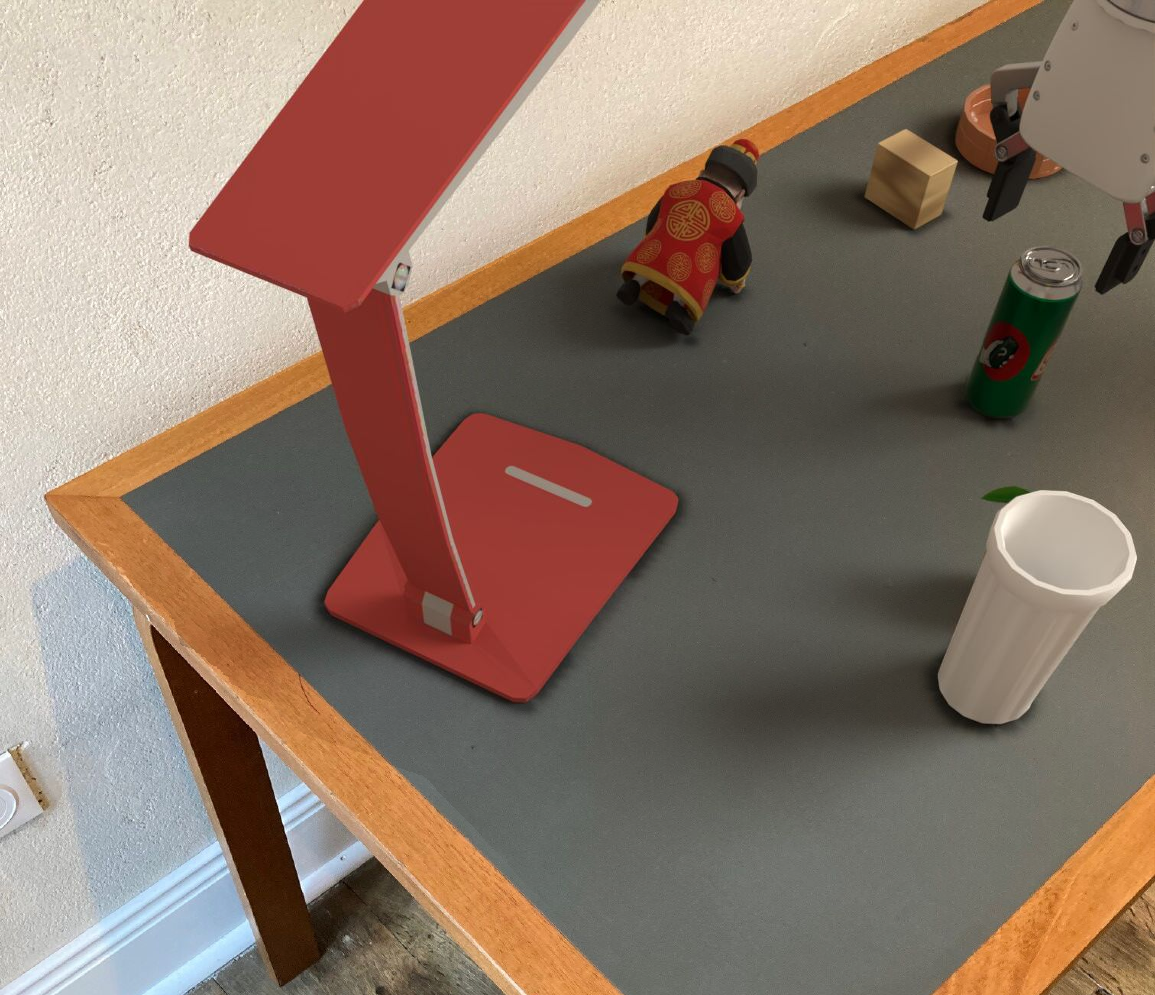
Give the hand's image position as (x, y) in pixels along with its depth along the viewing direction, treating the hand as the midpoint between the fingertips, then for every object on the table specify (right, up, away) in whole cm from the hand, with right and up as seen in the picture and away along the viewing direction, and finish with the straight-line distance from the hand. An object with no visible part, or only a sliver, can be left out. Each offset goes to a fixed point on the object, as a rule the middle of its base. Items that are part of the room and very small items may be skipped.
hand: (1053, 248), depth 80 cm
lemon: (-3, -24, +1) cm, 24 cm away
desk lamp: (-37, -18, +4) cm, 41 cm away
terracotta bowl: (+8, +23, +29) cm, 38 cm away
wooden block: (-4, +15, +24) cm, 28 cm away
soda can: (0, -7, +12) cm, 14 cm away
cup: (-6, -30, -3) cm, 31 cm away
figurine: (-23, +4, +18) cm, 29 cm away
